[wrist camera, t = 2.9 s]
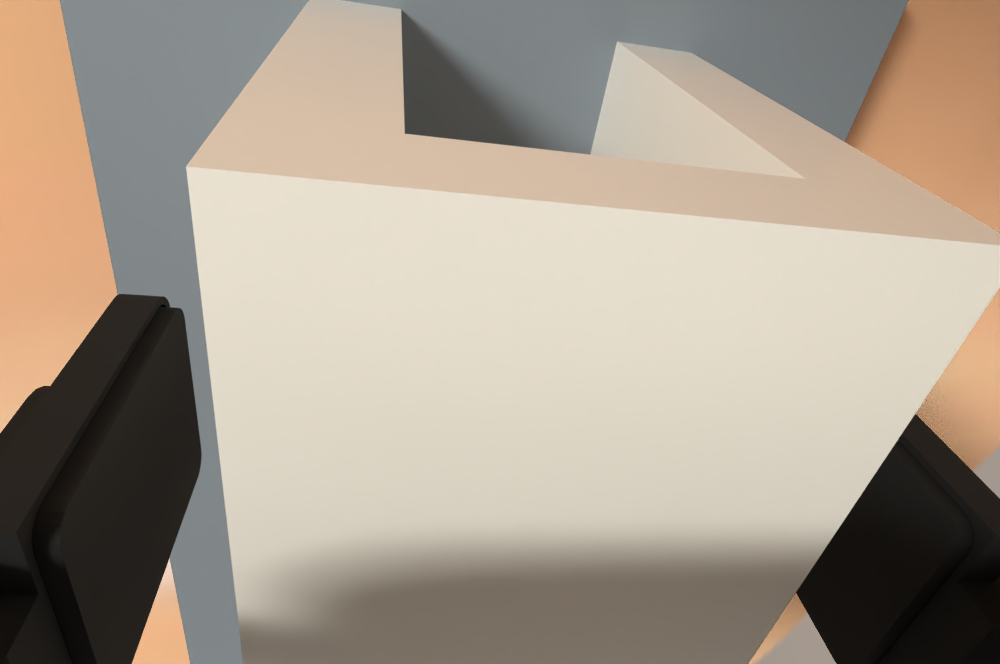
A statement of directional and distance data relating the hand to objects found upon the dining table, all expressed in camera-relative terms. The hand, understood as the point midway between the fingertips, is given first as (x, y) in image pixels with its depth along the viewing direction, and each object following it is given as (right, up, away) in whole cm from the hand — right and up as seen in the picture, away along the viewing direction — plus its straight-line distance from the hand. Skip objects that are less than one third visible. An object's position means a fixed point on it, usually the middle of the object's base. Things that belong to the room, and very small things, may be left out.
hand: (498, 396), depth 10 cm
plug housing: (0, +2, +2) cm, 2 cm away
